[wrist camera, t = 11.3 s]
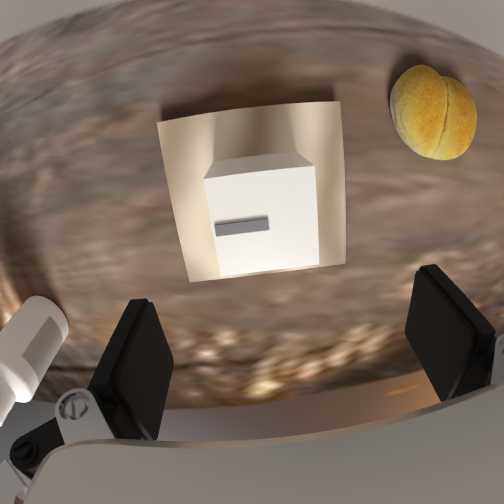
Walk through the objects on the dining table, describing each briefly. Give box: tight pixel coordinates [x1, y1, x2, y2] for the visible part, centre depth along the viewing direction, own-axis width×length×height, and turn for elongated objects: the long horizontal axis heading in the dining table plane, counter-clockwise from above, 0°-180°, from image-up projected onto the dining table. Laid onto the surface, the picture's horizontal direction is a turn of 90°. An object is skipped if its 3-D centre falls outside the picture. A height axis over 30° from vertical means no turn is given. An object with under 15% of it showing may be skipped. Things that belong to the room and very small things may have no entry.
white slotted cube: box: [203, 151, 319, 276], centre depth 21 cm, size 6×6×6 cm
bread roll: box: [390, 65, 477, 160], centre depth 21 cm, size 8×9×4 cm
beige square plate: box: [157, 101, 346, 282], centre depth 23 cm, size 14×14×6 cm
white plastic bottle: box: [0, 296, 69, 426], centre depth 23 cm, size 7×7×18 cm
